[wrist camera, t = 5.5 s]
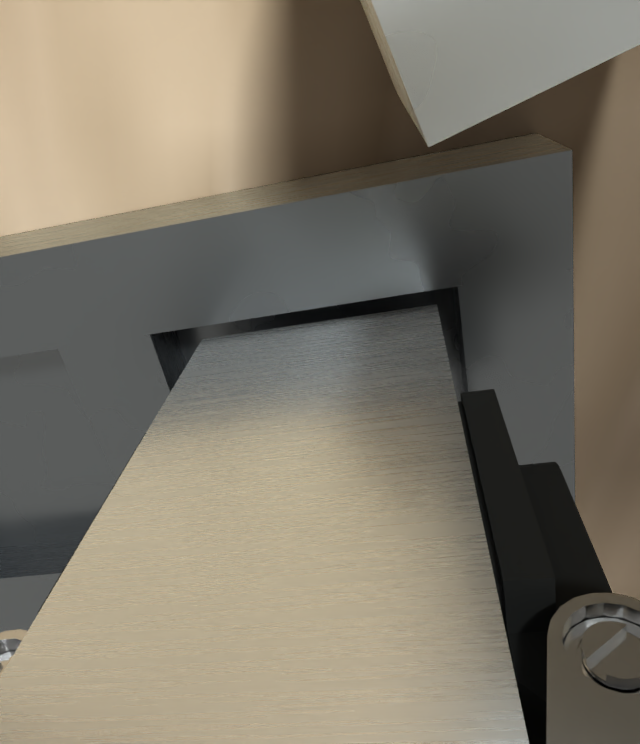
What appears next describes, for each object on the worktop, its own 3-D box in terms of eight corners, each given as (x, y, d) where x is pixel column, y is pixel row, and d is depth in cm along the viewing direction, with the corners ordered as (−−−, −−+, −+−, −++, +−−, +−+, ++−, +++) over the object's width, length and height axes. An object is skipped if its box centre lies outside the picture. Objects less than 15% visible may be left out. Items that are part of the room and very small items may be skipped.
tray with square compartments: (536, 133, 12) (573, 150, 10) (549, 521, 16) (577, 595, 14) (-473, 328, 16) (-608, 372, 14) (-243, 594, 20) (-318, 659, 18)
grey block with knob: (436, 304, 11) (549, 840, 4) (459, 495, 13) (559, 1079, 6) (201, 338, 12) (-97, 837, 4) (258, 514, 14) (121, 1048, 6)
